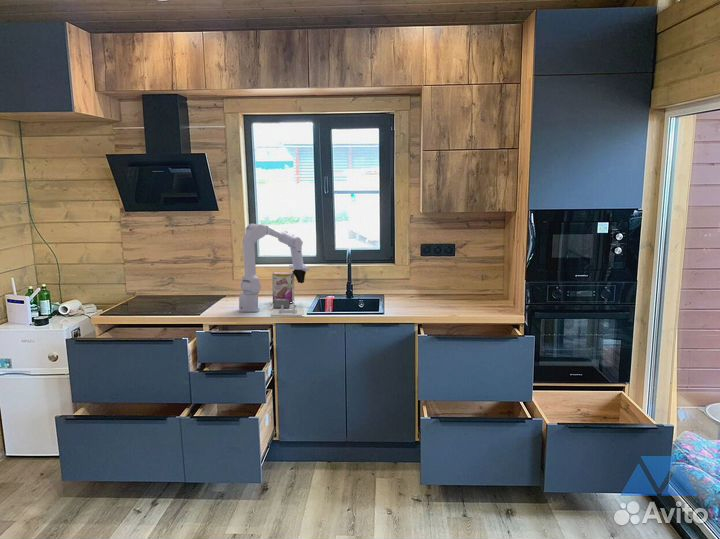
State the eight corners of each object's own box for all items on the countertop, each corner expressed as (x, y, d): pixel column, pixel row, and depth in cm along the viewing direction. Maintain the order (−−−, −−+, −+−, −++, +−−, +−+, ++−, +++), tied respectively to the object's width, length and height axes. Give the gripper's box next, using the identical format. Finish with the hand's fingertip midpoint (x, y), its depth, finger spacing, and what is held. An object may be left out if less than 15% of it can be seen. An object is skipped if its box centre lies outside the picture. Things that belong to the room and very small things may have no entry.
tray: (270, 316, 264) (270, 309, 264) (272, 310, 278) (272, 304, 277) (303, 316, 265) (304, 309, 265) (304, 310, 279) (304, 304, 279)
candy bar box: (272, 303, 296) (272, 273, 294) (275, 301, 301) (274, 272, 299) (292, 303, 294) (292, 273, 293) (294, 302, 299) (294, 272, 298)
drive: (273, 309, 280) (273, 300, 279) (273, 308, 284) (273, 298, 283) (289, 310, 280) (289, 300, 280) (289, 308, 285) (289, 298, 284)
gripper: (311, 258, 291) (315, 282, 294) (294, 255, 301) (298, 278, 305) (301, 261, 286) (305, 285, 290) (284, 258, 296) (288, 282, 300)
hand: (301, 282), depth 297 cm, fingers closed
